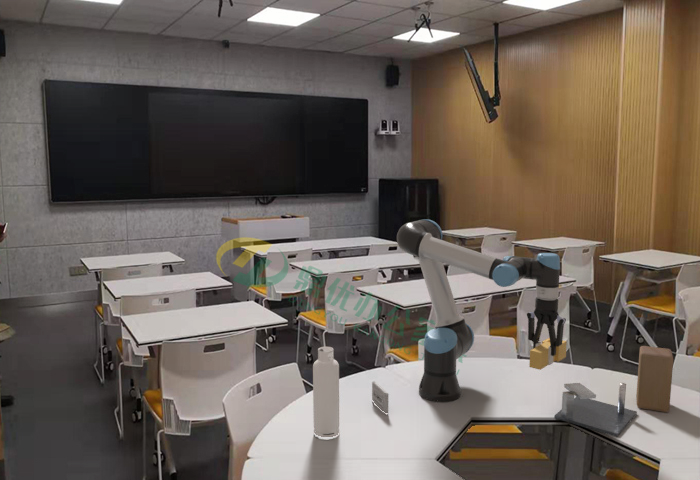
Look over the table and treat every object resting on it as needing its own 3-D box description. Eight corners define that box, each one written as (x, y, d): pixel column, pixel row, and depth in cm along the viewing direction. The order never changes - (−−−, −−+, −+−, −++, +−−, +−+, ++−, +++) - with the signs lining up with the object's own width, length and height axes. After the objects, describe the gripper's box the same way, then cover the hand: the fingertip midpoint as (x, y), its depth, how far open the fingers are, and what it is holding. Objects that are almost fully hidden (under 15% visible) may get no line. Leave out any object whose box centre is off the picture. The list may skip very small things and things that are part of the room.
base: (554, 418, 196) (556, 386, 194) (577, 398, 211) (579, 369, 210) (617, 436, 183) (619, 403, 181) (636, 414, 198) (639, 383, 197)
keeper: (577, 411, 201) (579, 382, 199) (594, 424, 191) (596, 394, 190) (556, 412, 200) (557, 384, 198) (571, 426, 190) (573, 396, 188)
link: (549, 353, 217) (549, 337, 216) (565, 357, 213) (566, 341, 212) (526, 366, 204) (526, 349, 203) (543, 370, 200) (544, 353, 199)
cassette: (389, 415, 199) (389, 393, 198) (384, 416, 198) (384, 394, 197) (375, 401, 210) (375, 380, 209) (370, 402, 209) (370, 381, 208)
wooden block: (667, 402, 208) (671, 348, 205) (669, 413, 199) (673, 357, 196) (636, 397, 212) (639, 344, 209) (636, 408, 203) (640, 353, 200)
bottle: (330, 442, 180) (329, 355, 175) (308, 436, 184) (307, 350, 180) (344, 432, 186) (343, 347, 182) (323, 426, 191) (322, 343, 187)
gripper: (519, 295, 206) (516, 359, 210) (566, 304, 195) (562, 371, 198) (528, 291, 212) (526, 353, 215) (575, 299, 200) (572, 365, 204)
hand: (543, 362), depth 207 cm, fingers closed on link, 4 cm apart
